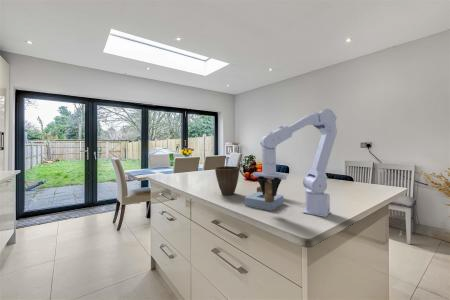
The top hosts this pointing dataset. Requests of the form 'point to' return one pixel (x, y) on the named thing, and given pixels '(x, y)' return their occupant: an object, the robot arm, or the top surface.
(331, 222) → the top surface
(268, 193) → the peg
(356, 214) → the top surface
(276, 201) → the socket
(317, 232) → the top surface
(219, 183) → the plant pot
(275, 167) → the robot arm
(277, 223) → the top surface
